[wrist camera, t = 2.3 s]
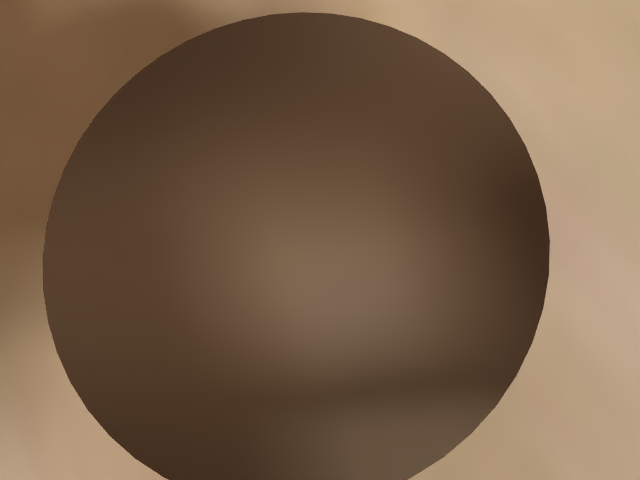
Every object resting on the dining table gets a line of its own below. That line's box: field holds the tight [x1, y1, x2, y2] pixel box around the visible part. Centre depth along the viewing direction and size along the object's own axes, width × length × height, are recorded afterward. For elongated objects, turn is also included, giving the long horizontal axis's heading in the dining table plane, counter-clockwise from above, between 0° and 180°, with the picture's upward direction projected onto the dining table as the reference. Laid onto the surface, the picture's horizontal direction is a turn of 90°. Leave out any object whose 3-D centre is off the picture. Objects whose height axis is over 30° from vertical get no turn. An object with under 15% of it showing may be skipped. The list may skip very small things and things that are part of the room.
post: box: [43, 13, 550, 480], centre depth 12 cm, size 6×6×12 cm
